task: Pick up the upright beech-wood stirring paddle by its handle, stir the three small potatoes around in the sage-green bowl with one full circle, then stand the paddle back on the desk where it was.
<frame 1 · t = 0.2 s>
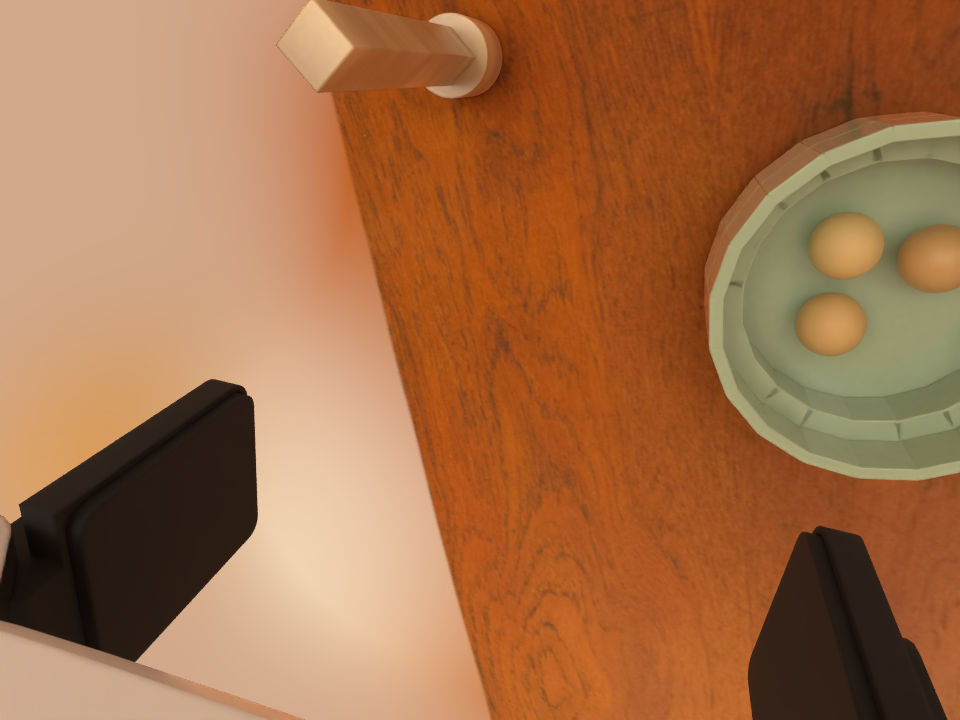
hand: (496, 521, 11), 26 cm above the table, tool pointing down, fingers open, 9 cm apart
bowl: (868, 278, 32), on the table
potato a: (830, 324, 31), point 2 cm above the table, touching bowl
stirrer: (467, 57, 33), on the table
potato b: (937, 258, 29), point 2 cm above the table, touching bowl
potato c: (845, 245, 30), point 2 cm above the table, touching bowl
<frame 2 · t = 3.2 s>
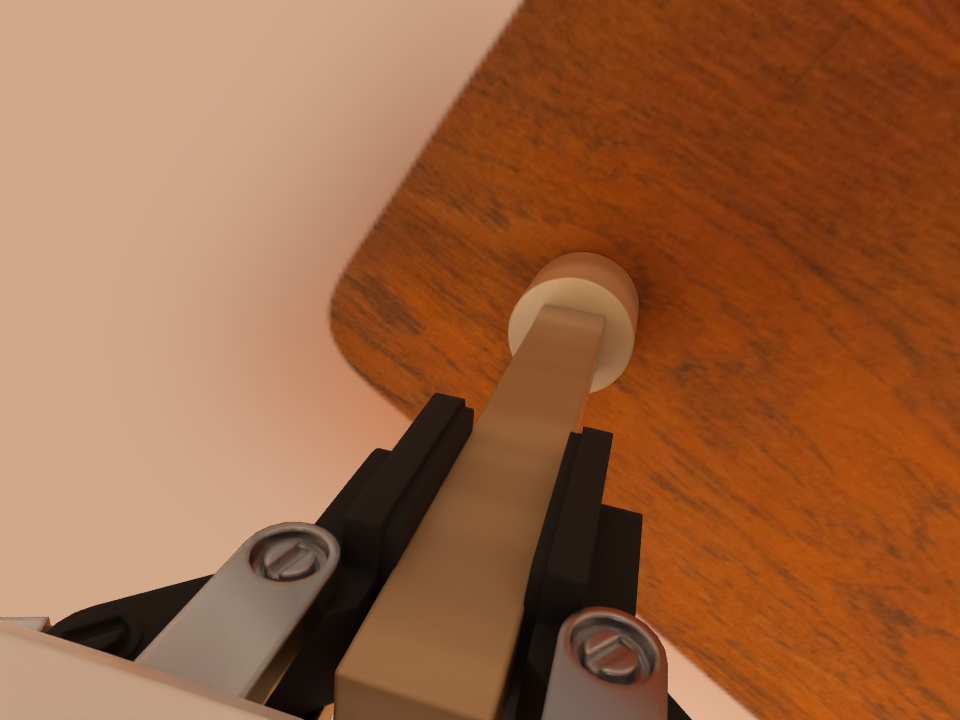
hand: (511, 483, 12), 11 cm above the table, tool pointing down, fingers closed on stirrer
stirrer: (582, 306, 22), on the table, touching gripper
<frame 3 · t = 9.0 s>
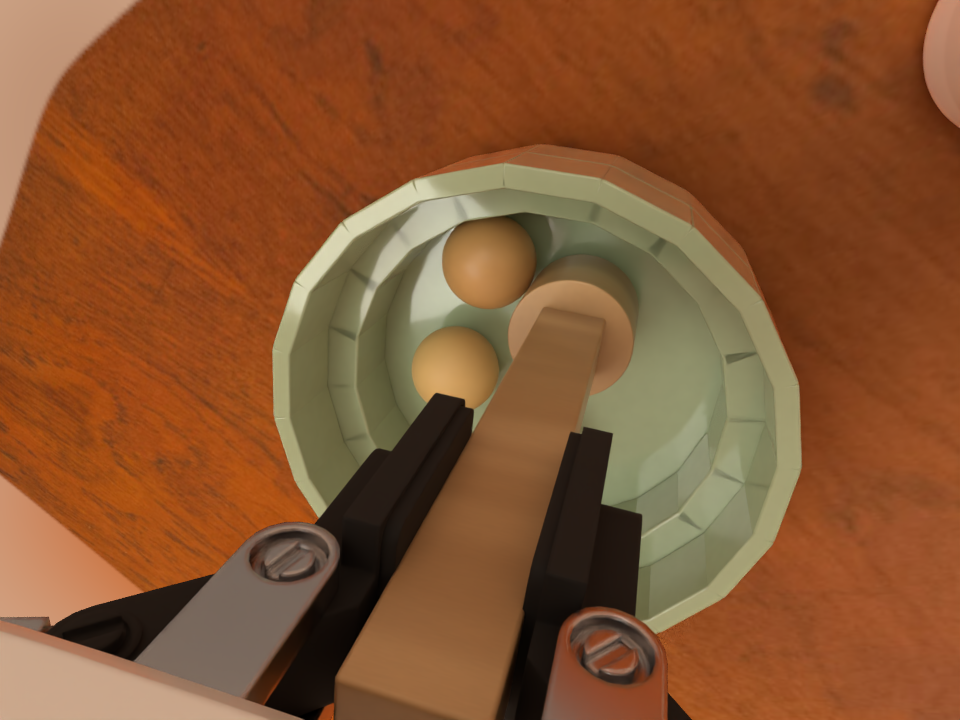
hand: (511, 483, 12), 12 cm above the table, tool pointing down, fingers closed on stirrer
bowl: (546, 361, 24), on the table
stirrer: (581, 308, 22), point 2 cm above the table, touching gripper
potato b: (489, 261, 21), point 2 cm above the table, tilted 96°, touching bowl
potato c: (455, 369, 23), point 2 cm above the table, touching bowl
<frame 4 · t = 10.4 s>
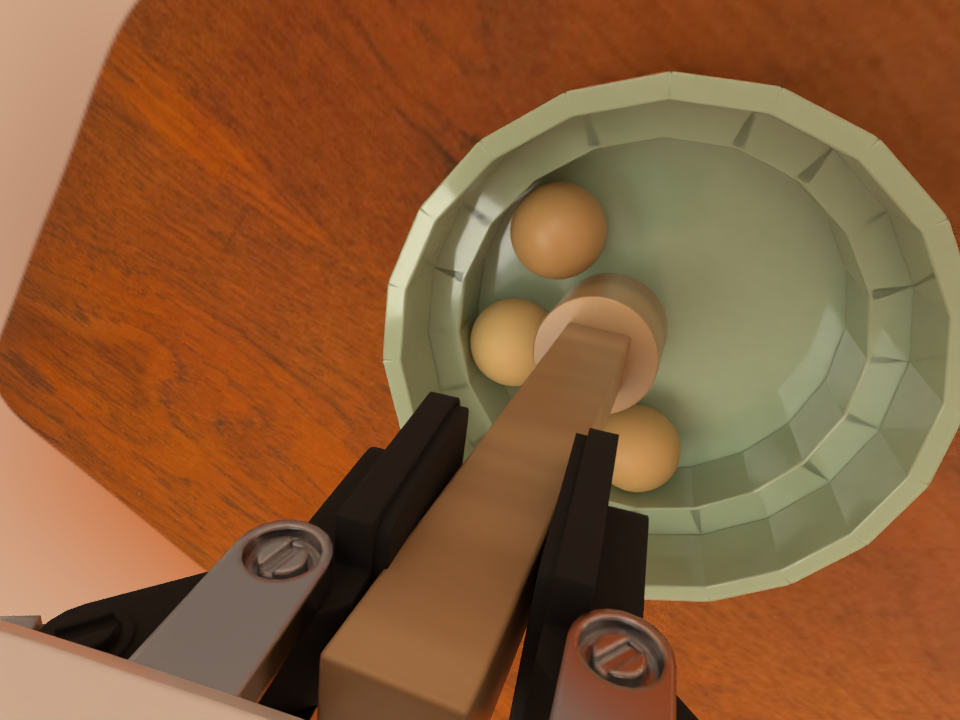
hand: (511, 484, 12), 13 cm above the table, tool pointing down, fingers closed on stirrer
bowl: (650, 308, 23), on the table
potato a: (635, 448, 23), point 2 cm above the table, tilted 69°, touching bowl
stirrer: (610, 327, 22), point 2 cm above the table, tilted 6°, touching gripper, potato c
potato b: (558, 231, 21), point 2 cm above the table, tilted 96°, touching bowl
potato c: (514, 342, 23), point 2 cm above the table, tilted 67°, touching bowl, stirrer
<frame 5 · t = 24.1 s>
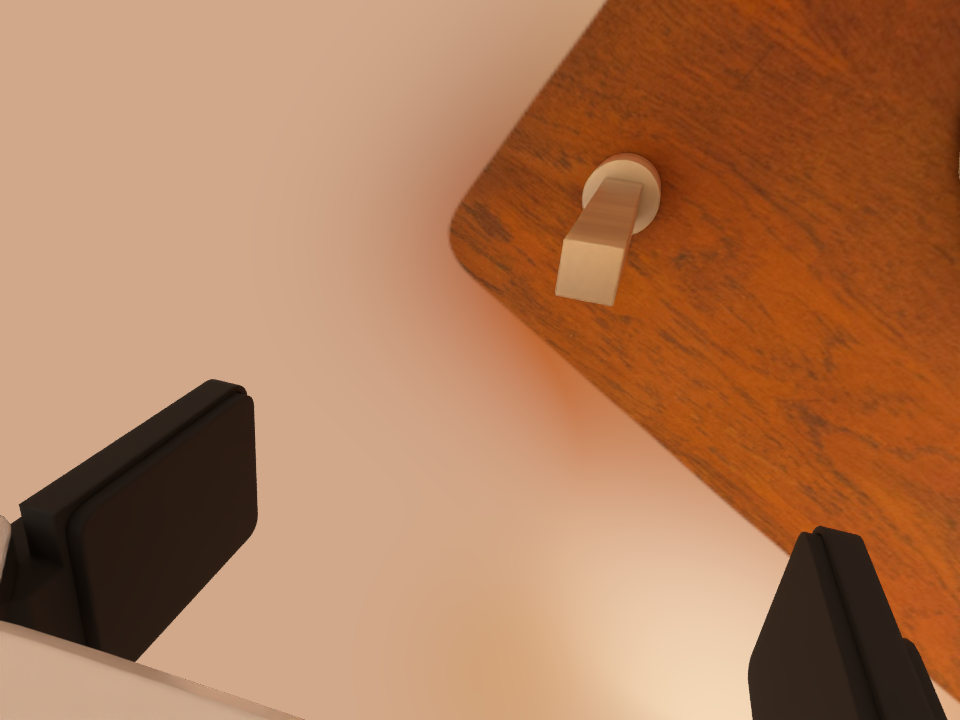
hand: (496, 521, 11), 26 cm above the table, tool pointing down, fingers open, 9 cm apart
stirrer: (624, 189, 34), on the table
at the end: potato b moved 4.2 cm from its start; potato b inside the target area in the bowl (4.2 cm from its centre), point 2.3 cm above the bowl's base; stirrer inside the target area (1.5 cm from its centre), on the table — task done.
